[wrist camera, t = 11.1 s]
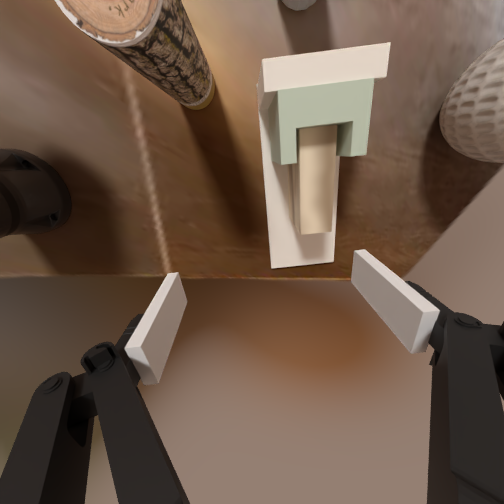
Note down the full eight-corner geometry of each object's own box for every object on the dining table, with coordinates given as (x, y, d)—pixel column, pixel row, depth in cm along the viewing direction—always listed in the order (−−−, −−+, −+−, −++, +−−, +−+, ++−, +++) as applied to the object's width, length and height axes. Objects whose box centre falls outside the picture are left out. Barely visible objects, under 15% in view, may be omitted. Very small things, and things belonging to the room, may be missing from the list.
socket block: (271, 160, 39) (281, 164, 28) (268, 108, 35) (277, 89, 25) (332, 153, 39) (366, 154, 28) (334, 100, 35) (374, 77, 24)
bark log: (223, 80, 35) (181, -53, 12) (202, 120, 37) (132, 71, 14) (186, 47, 33) (52, -184, 10) (165, 91, 35) (20, -18, 12)
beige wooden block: (289, 217, 44) (300, 234, 35) (286, 134, 37) (299, 128, 28) (313, 214, 44) (331, 231, 35) (315, 130, 37) (337, 124, 28)
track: (271, 266, 49) (279, 302, 38) (256, 85, 35) (261, 53, 23) (332, 260, 49) (358, 293, 38) (342, 74, 35) (391, 36, 23)
